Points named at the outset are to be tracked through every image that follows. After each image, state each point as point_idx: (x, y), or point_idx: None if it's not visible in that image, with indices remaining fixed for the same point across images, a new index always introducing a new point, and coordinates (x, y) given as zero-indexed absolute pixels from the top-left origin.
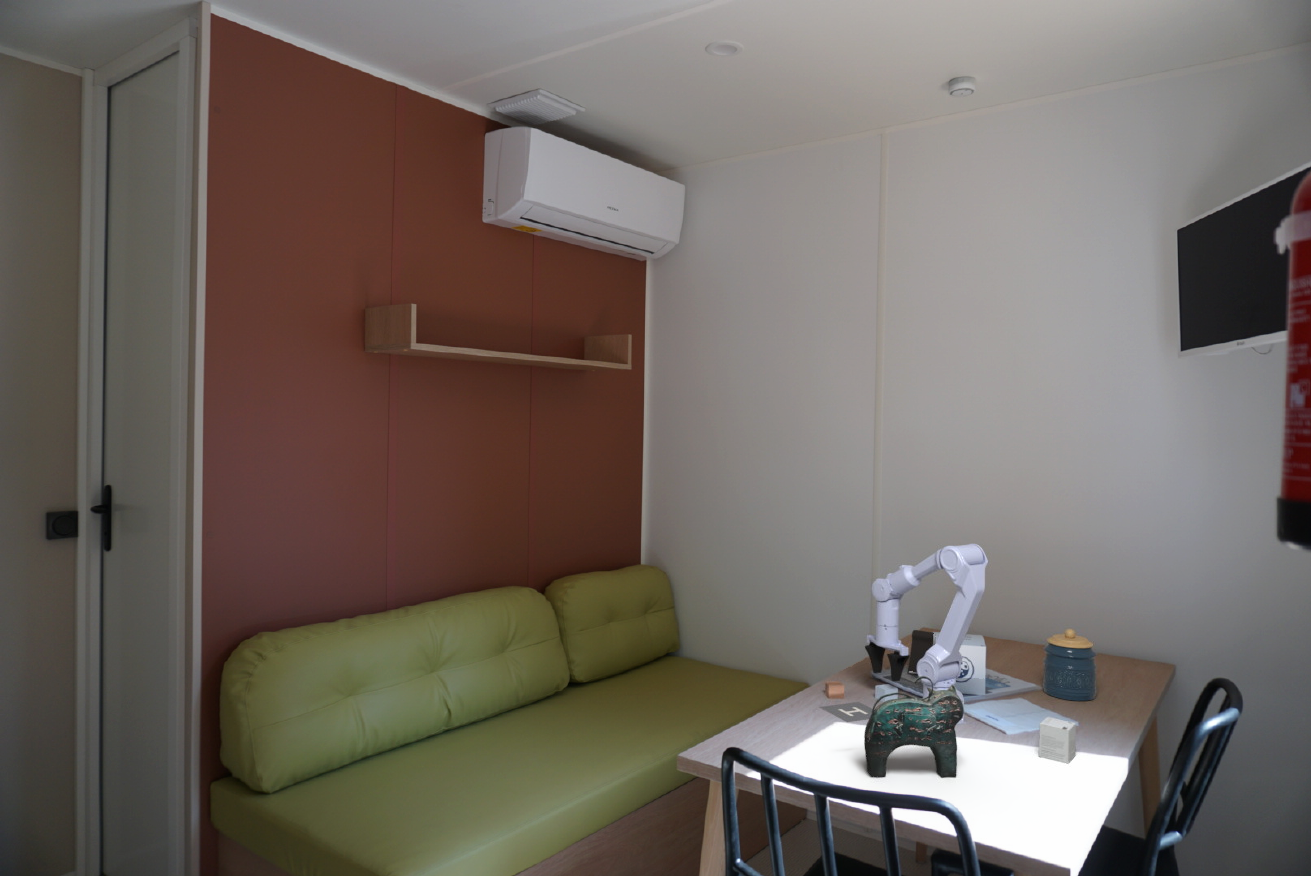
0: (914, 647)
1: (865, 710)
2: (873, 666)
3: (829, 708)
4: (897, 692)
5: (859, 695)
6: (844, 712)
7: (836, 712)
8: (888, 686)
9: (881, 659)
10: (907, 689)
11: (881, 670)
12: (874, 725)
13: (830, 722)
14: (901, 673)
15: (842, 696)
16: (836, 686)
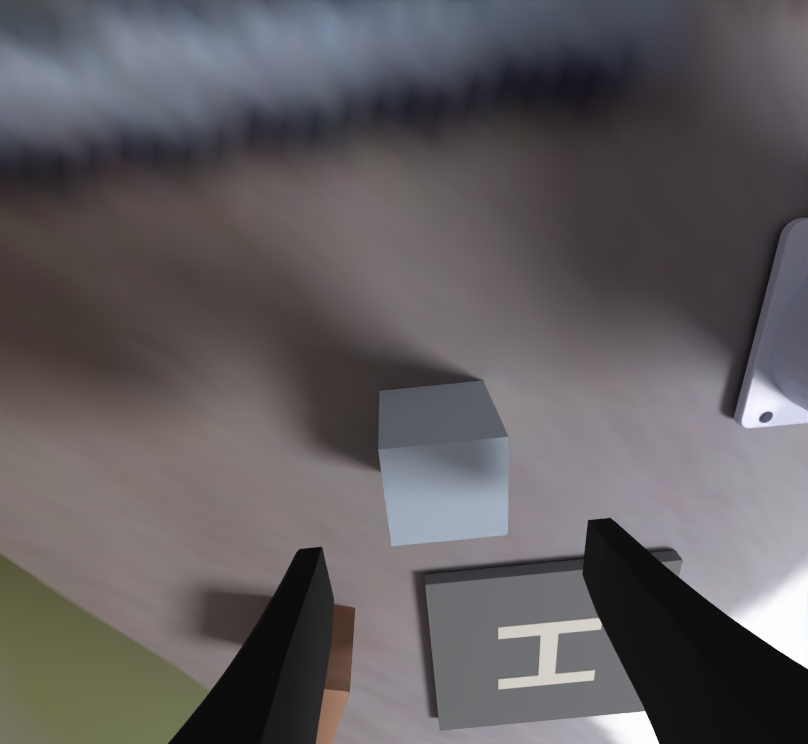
0: None
1: (558, 608)
2: (325, 675)
3: (471, 708)
4: (499, 420)
5: (277, 509)
6: (543, 683)
7: (528, 704)
8: (440, 477)
9: (287, 677)
10: (168, 86)
11: (317, 560)
12: None
13: (589, 729)
14: (664, 569)
15: (351, 635)
16: (340, 716)
